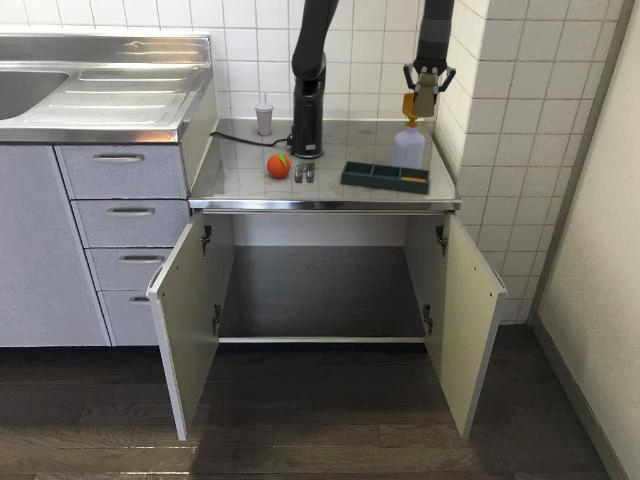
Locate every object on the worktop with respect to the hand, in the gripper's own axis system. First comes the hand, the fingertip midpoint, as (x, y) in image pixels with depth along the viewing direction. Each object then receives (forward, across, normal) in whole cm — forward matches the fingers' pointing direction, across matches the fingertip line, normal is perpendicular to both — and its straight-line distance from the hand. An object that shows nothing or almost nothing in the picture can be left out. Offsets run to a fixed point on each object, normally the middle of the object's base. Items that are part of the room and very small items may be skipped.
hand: (424, 105), depth 132 cm
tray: (+24, -8, 0) cm, 25 cm away
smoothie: (+24, -52, +26) cm, 63 cm away
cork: (+2, 0, 0) cm, 2 cm away
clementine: (+24, -38, -5) cm, 45 cm away
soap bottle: (+24, -3, +9) cm, 26 cm away
